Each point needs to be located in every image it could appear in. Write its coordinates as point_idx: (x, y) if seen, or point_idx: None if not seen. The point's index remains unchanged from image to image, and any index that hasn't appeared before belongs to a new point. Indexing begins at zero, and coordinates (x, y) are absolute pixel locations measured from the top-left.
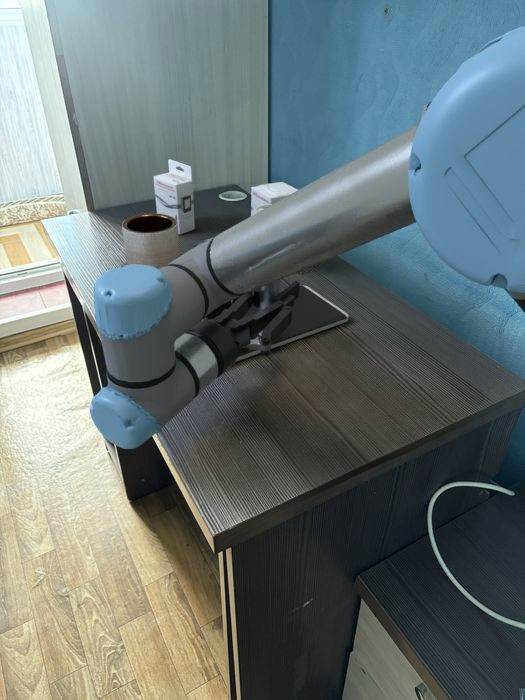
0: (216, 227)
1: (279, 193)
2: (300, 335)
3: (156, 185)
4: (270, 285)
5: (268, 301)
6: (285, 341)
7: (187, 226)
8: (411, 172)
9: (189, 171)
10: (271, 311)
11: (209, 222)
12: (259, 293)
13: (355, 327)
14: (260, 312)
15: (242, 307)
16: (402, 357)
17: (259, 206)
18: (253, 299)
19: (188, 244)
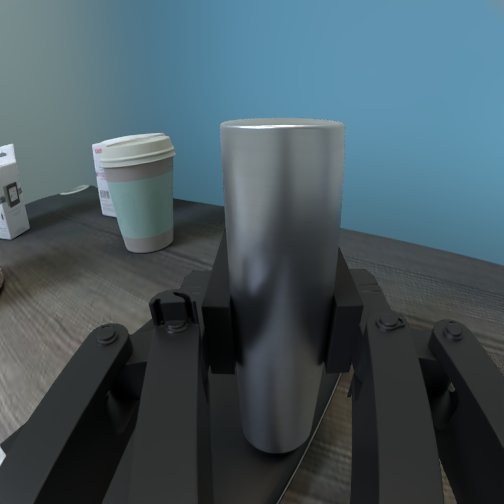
0: (56, 218)
1: (133, 137)
2: (339, 376)
3: None
4: (321, 243)
5: (306, 337)
6: (321, 416)
7: (19, 226)
8: None
9: (12, 151)
10: (427, 403)
11: (48, 216)
12: (231, 310)
13: (389, 300)
14: (393, 458)
15: (201, 452)
16: (498, 318)
17: (110, 144)
18: (207, 348)
19: (20, 248)
